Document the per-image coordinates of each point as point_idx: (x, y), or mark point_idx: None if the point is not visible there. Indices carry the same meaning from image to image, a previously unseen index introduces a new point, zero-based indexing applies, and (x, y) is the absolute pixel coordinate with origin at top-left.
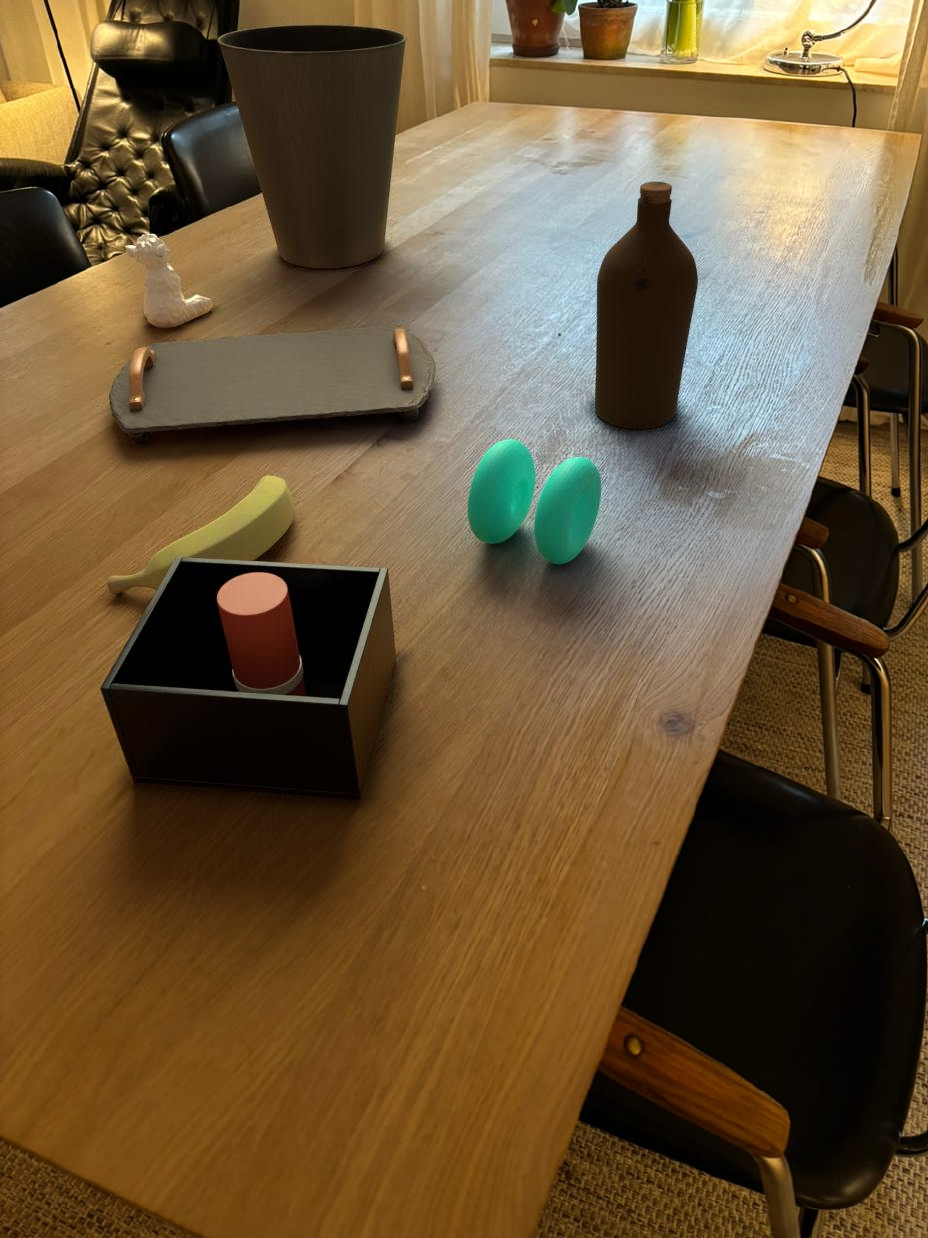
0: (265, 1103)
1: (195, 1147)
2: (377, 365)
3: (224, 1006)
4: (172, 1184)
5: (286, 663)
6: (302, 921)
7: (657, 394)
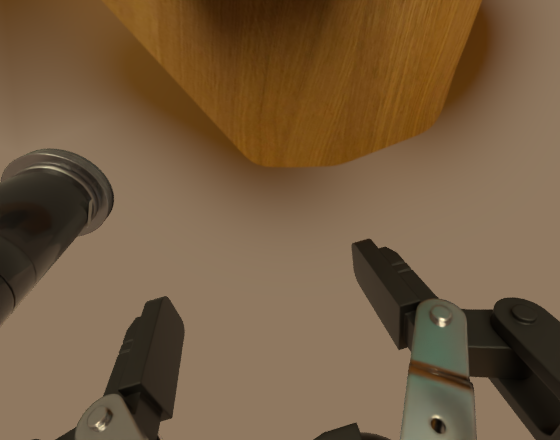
0: (340, 122)
1: (322, 146)
2: None
3: (307, 89)
4: (320, 159)
5: None
6: (325, 27)
7: None
